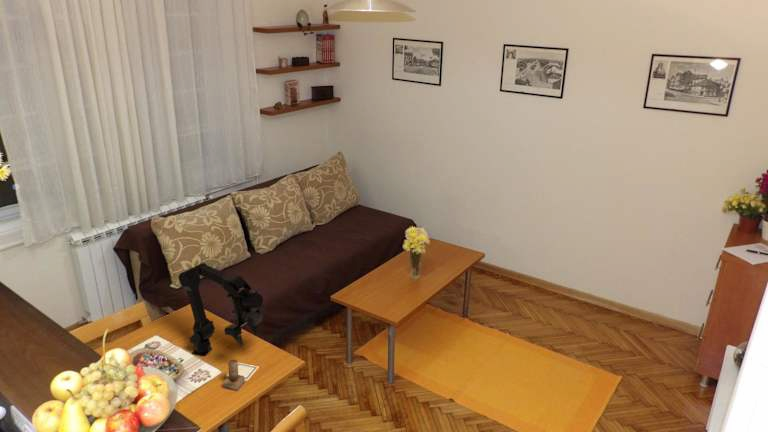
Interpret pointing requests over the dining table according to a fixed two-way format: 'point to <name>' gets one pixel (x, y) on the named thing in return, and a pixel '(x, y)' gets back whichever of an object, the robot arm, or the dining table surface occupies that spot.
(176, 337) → the dining table surface
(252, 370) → the marked board
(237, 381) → the stamp
